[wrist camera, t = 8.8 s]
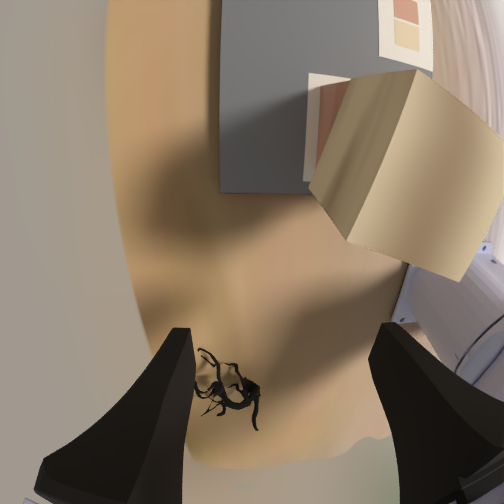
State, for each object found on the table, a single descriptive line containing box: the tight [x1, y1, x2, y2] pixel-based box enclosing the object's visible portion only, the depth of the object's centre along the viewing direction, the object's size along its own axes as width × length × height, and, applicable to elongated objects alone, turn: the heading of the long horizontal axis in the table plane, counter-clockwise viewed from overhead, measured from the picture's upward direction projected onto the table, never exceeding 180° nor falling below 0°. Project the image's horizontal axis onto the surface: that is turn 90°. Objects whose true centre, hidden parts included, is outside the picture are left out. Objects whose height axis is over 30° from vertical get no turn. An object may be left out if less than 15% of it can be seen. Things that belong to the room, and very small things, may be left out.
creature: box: [194, 349, 261, 431], centre depth 24 cm, size 8×5×8 cm
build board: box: [219, 0, 433, 195], centre depth 14 cm, size 13×16×1 cm
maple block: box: [308, 69, 504, 282], centre depth 9 cm, size 5×5×5 cm
